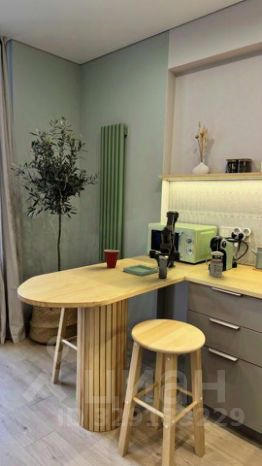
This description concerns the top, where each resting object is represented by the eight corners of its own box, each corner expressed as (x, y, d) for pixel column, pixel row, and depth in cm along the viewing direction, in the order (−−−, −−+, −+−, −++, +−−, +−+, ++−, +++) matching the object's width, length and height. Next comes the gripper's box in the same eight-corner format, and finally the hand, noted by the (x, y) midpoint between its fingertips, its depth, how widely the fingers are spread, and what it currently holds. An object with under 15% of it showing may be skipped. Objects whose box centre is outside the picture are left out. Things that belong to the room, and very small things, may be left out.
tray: (139, 267, 219) (139, 264, 219) (158, 272, 208) (158, 268, 208) (123, 271, 207) (123, 268, 207) (142, 276, 197) (142, 272, 196)
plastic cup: (120, 266, 222) (120, 249, 221) (118, 269, 211) (118, 251, 210) (104, 265, 223) (105, 248, 222) (101, 268, 212) (102, 250, 211)
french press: (225, 276, 202) (228, 237, 199) (207, 276, 202) (209, 237, 199) (220, 273, 212) (223, 235, 209) (203, 272, 212) (205, 235, 209)
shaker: (161, 275, 197) (162, 254, 196) (168, 277, 194) (170, 256, 192) (156, 276, 194) (157, 255, 192) (163, 278, 190) (164, 257, 188)
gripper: (150, 237, 197) (146, 258, 188) (180, 239, 192) (178, 260, 183) (151, 247, 205) (148, 268, 196) (181, 249, 201) (178, 271, 192)
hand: (162, 266), depth 192 cm, fingers closed on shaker, 5 cm apart
